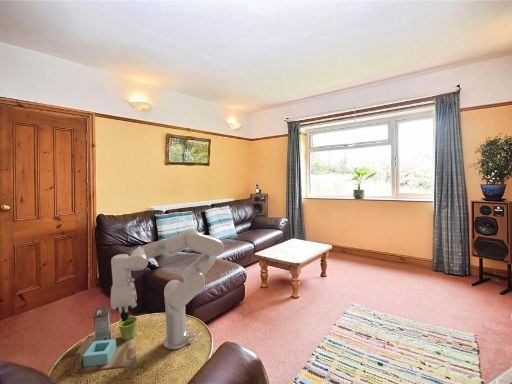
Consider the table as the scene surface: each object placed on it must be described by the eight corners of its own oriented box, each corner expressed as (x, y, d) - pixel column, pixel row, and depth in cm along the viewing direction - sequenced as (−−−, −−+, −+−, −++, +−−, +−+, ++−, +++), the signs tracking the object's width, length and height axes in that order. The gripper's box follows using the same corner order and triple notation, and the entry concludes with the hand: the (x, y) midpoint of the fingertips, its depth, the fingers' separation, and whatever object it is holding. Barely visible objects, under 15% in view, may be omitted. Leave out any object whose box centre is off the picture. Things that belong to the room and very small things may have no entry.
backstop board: (135, 345, 128) (134, 330, 128) (125, 366, 115) (124, 349, 114) (89, 350, 125) (88, 334, 124) (73, 372, 111) (72, 355, 111)
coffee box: (98, 337, 135) (96, 307, 134) (112, 334, 138) (110, 305, 136) (95, 348, 127) (93, 317, 125) (110, 344, 129) (108, 314, 128)
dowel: (137, 363, 116) (136, 338, 115) (135, 370, 112) (133, 344, 111) (128, 364, 116) (127, 339, 115) (125, 371, 112) (124, 345, 111)
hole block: (116, 348, 125) (115, 339, 125) (107, 364, 115) (107, 353, 115) (94, 351, 124) (93, 341, 123) (83, 366, 114) (82, 356, 113)
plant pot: (139, 338, 134) (139, 322, 133) (119, 345, 129) (118, 328, 128) (136, 329, 142) (135, 314, 141) (117, 335, 136) (116, 319, 136)
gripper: (141, 276, 123) (144, 313, 125) (108, 279, 121) (111, 316, 122) (136, 283, 115) (139, 322, 117) (101, 287, 113) (104, 326, 115)
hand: (125, 319), depth 120 cm, fingers closed
